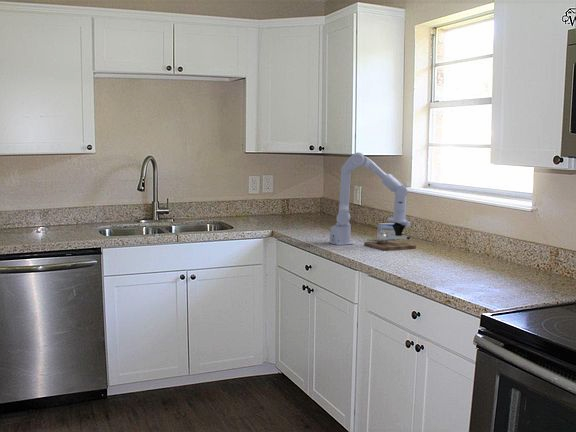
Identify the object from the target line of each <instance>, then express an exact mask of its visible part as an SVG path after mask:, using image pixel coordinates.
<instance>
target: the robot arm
mask: <svg viewBox="0 0 576 432" xmlns="http://www.w3.org/2000/svg"><path fill="white" fill-rule="evenodd" d="M361 166H362V167H363V168H367V169H369V170H370V171H371V172H373V173H374V174H375V175H377V177H379V178H380V179H381V184H383V186H385V187H386V188H387V189H388V190H389V191H390V192H393V193H394V201H393V214H392V215H393V216H392V217H389V218H387V222H388V223H393V224H394V225H392V226H393V228H394V231H395V235H397V236H403V235H402V234H403V231H404V229H405V228H406V227H411V225H412V224H411V223H412V222H411V221H408V220H407V219H406V215H407V200H408V199H407V196H408V193H409V192H408V189H407V187H405V185H404V184H403V182H402V181H401V182H400V181H399V180H398V179H397V178H396V177H395V175H394V174H391V173H386V172H385V171H384V170H383V169H382V168H380V167H379V166H378V165H377V164H376V163H375V162H374V161H373V160H372V159H370V158H369V157H367V156H365V155H364V154H363V153H362V152H355V153H353V154H351V155H350V156H349V157H348V159H347V160H346V161H345V162H344V163H343V165H342V166H341V168H340V169H341V170H340V189H339V205H338V214H337V215H336V220H335V221H336V223H335V225H332V226H331V227H330V230H329V241H328V243H329V244H333V245H337V246H343V245H344V246H345V245H354V242H351V231H352V230H351V227H352V226H351V225H352V224H351V223H350V220H351V218H352V217H351V213H350V193H351V191H350V190H351V178H352V177H351V174H352V172H353V171H354V170H356V169H357V168H359V167H361ZM399 240H400V239H396V241H399Z"/></svg>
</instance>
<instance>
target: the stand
mask: <svg viewBox="0 0 576 432" xmlns="http://www.w3.org/2000/svg"><path fill="white" fill-rule="evenodd" d="M363 243H364V244H363V245H364V246H365V247H368V248H373V249H375V250H376V249H377V250H380V251H384V252H388V251H389V252H390V251H401V250H415V249H417V248H416V247H417V245H415V244H412V243H407V242H403V241H399V240H397V239H395V240H390V241H388V244H378V243H377V240H376V241H364V242H363Z"/></svg>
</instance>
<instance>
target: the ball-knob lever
mask: <svg viewBox="0 0 576 432" xmlns="http://www.w3.org/2000/svg"><path fill="white" fill-rule="evenodd" d="M376 234H377V233H376ZM376 236H377V237H376V241H377V243H378V244H388V239H395V240H397V239H399V240H410V238H411V237H410V235H409V234H408V235H401V236H397V235H388V234H385V231H380V233H378V234H377V235H376Z"/></svg>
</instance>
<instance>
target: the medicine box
mask: <svg viewBox="0 0 576 432" xmlns="http://www.w3.org/2000/svg"><path fill="white" fill-rule="evenodd" d="M394 224H395V223H391V222H388V223H385V222H384V223H380V222H379V223H377V228H376V229H377V230H376V231H377V233H376V234H378V233H380V231H385V234H388V235H395V231H394V228H393V226H392V225H394ZM390 240H396V239H388V241H390Z"/></svg>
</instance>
